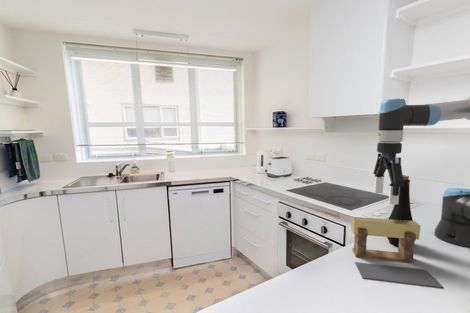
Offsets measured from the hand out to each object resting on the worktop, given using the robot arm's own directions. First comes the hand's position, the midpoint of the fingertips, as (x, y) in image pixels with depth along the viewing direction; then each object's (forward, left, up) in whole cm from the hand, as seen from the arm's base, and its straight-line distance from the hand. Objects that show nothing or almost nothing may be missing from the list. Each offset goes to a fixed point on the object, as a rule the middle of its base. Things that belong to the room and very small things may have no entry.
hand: (385, 198), depth 87 cm
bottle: (-11, -12, -24) cm, 29 cm away
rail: (0, 0, -14) cm, 14 cm away
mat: (0, +12, -23) cm, 26 cm away
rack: (0, 0, -23) cm, 23 cm away
